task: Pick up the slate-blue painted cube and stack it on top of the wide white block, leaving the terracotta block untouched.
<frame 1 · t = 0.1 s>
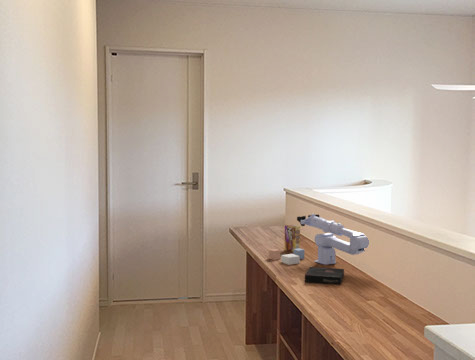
hand: (303, 217, 317), 22 cm above the table, tool horizontal, fingers open, 7 cm apart
white block: (290, 263, 302), on the table
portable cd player: (324, 280, 268), on the table
candy box: (292, 251, 331), on the table
slate cube: (298, 258, 312), on the table
terracotta block: (274, 258, 311), on the table
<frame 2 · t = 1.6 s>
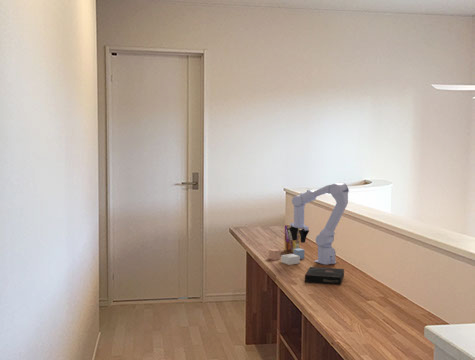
hand: (298, 241, 311), 9 cm above the table, tool pointing down, fingers open, 7 cm apart
nothing on the table moved.
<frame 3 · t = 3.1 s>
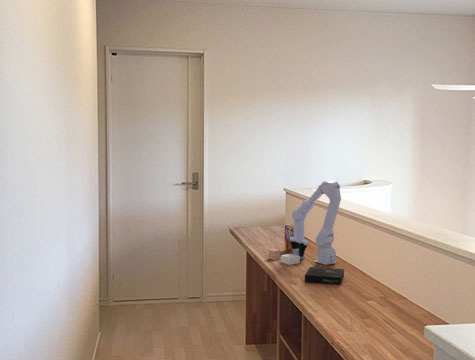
hand: (298, 255, 312), 1 cm above the table, tool pointing down, fingers closed on slate cube, 4 cm apart
slate cube: (298, 258, 312), on the table, touching gripper
everything else where it was.
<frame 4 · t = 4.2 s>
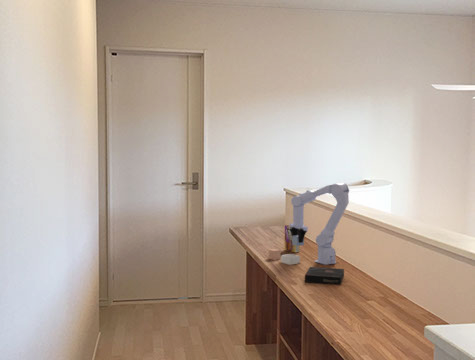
hand: (298, 241, 310), 9 cm above the table, tool pointing down, fingers closed on slate cube, 4 cm apart
slate cube: (298, 244, 310), point 8 cm above the table, touching gripper
everything else where it was.
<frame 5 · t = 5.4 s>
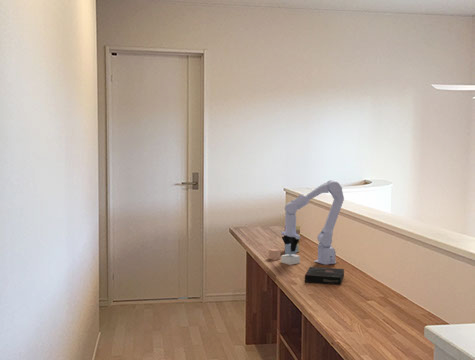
hand: (290, 250, 301), 7 cm above the table, tool pointing down, fingers closed on slate cube, 4 cm apart
slate cube: (290, 253, 301), point 5 cm above the table, touching gripper
everything else where it was.
when the fingers open (7 cm above the table, at t = 5.8 s): slate cube drops 1 cm, resting on white block.
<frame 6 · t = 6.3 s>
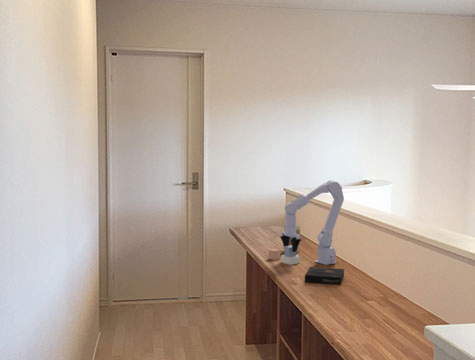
hand: (290, 250, 301), 7 cm above the table, tool pointing down, fingers open, 7 cm apart
white block: (290, 263, 302), on the table, touching slate cube
slate cube: (290, 255, 301), point 4 cm above the table, touching white block
everything else where it was.
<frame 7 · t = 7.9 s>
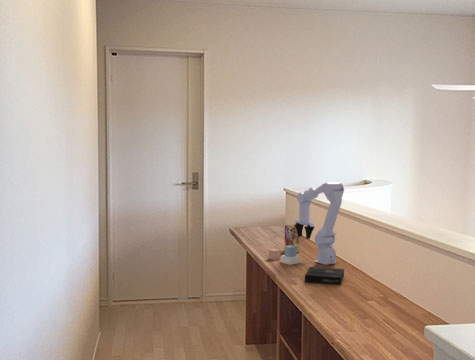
hand: (304, 237, 317), 10 cm above the table, tool pointing down, fingers open, 7 cm apart
nothing on the table moved.
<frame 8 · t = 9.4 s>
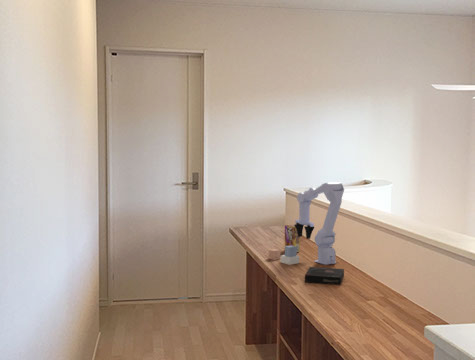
hand: (304, 237, 317), 10 cm above the table, tool pointing down, fingers open, 7 cm apart
nothing on the table moved.
at the end: slate cube 0.4 cm off-centre on the white block, point 4.0 cm above the white block's base; slate cube tilted 0°; slate cube touching white block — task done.
